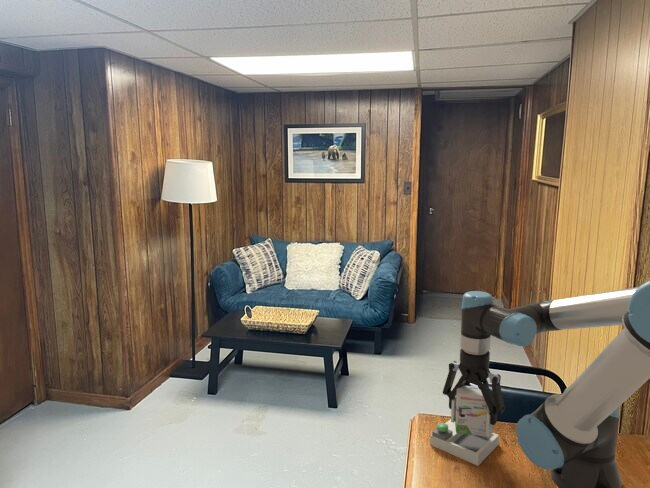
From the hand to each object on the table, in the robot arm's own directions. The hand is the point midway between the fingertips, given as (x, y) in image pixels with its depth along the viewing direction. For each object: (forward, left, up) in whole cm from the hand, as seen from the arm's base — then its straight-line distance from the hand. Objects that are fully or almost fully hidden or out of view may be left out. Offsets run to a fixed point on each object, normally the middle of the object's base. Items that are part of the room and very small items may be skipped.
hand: (471, 426), depth 130 cm
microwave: (+2, 0, -6) cm, 6 cm away
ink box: (0, 0, -1) cm, 1 cm away
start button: (+6, +4, -3) cm, 8 cm away
